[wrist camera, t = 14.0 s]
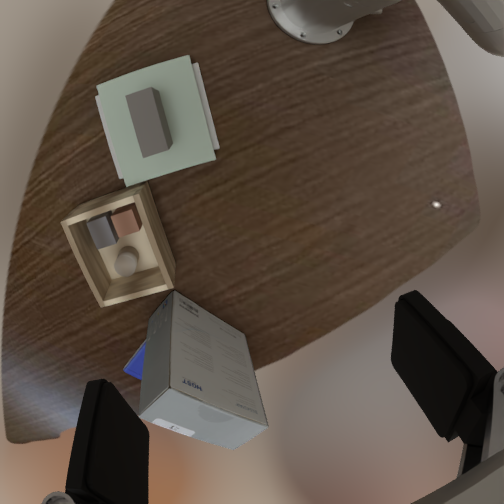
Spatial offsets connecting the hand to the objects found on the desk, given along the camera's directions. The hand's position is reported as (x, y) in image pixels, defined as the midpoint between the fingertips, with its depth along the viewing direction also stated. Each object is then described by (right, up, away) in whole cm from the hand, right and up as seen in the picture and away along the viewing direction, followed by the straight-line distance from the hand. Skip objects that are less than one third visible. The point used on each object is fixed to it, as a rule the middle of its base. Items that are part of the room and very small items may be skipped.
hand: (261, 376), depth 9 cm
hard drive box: (-9, -9, +43) cm, 45 cm away
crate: (-18, +6, +34) cm, 39 cm away
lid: (-12, +21, +28) cm, 37 cm away
